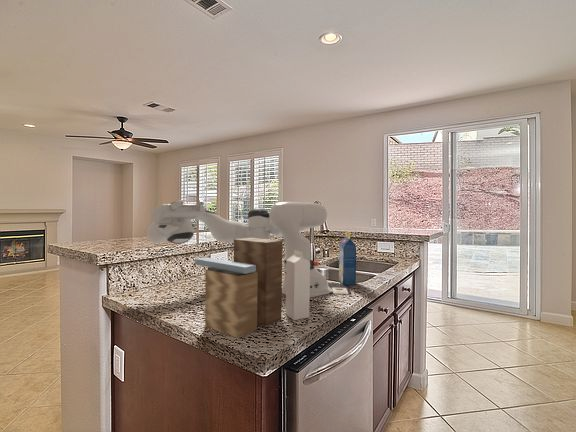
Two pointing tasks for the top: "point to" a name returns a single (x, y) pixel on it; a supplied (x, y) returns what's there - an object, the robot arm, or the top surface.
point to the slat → (226, 265)
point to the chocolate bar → (339, 288)
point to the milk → (297, 286)
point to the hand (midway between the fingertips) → (192, 201)
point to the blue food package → (347, 261)
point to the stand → (264, 274)
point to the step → (231, 301)
